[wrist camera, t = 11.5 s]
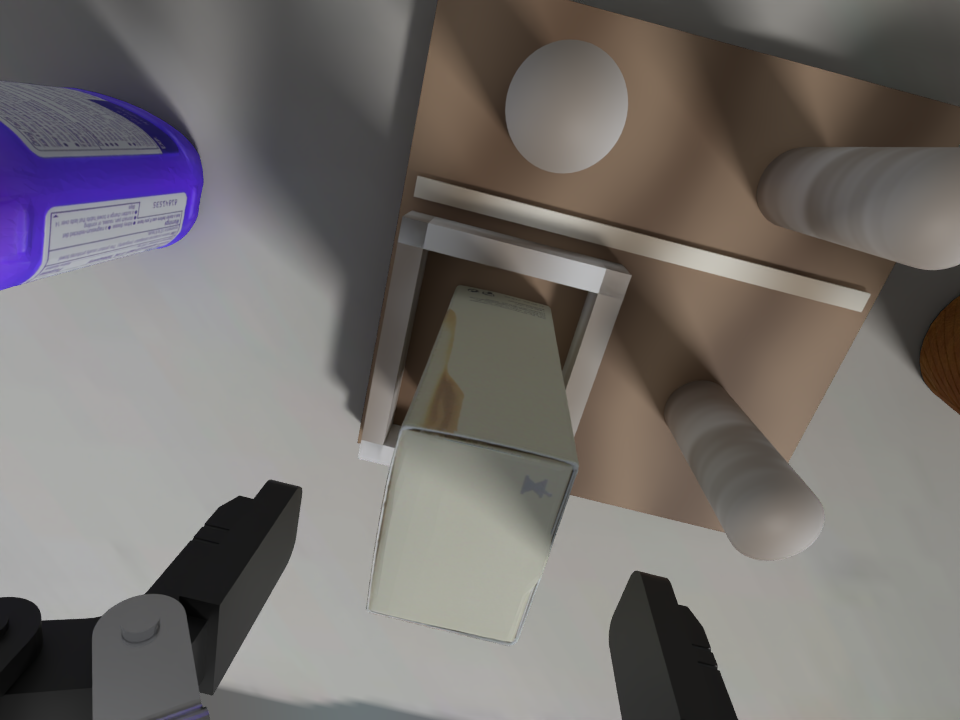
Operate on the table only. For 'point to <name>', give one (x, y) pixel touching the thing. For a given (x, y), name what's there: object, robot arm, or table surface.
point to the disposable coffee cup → (943, 356)
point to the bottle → (87, 181)
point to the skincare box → (477, 474)
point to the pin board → (662, 244)
